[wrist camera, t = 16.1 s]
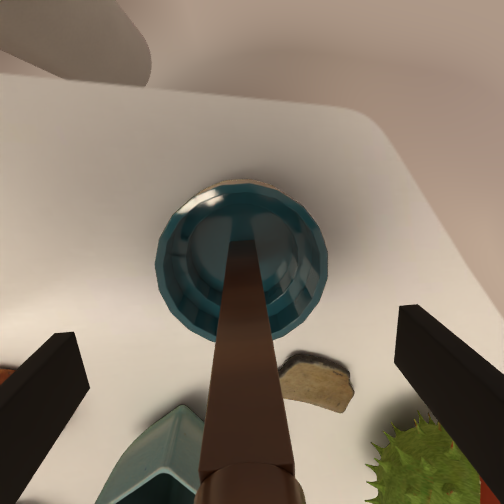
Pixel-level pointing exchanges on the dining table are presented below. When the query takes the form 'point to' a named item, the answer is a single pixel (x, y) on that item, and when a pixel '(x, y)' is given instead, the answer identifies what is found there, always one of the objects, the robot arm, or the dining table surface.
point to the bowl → (216, 251)
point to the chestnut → (426, 469)
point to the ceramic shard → (316, 382)
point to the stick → (245, 399)
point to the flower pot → (159, 463)
